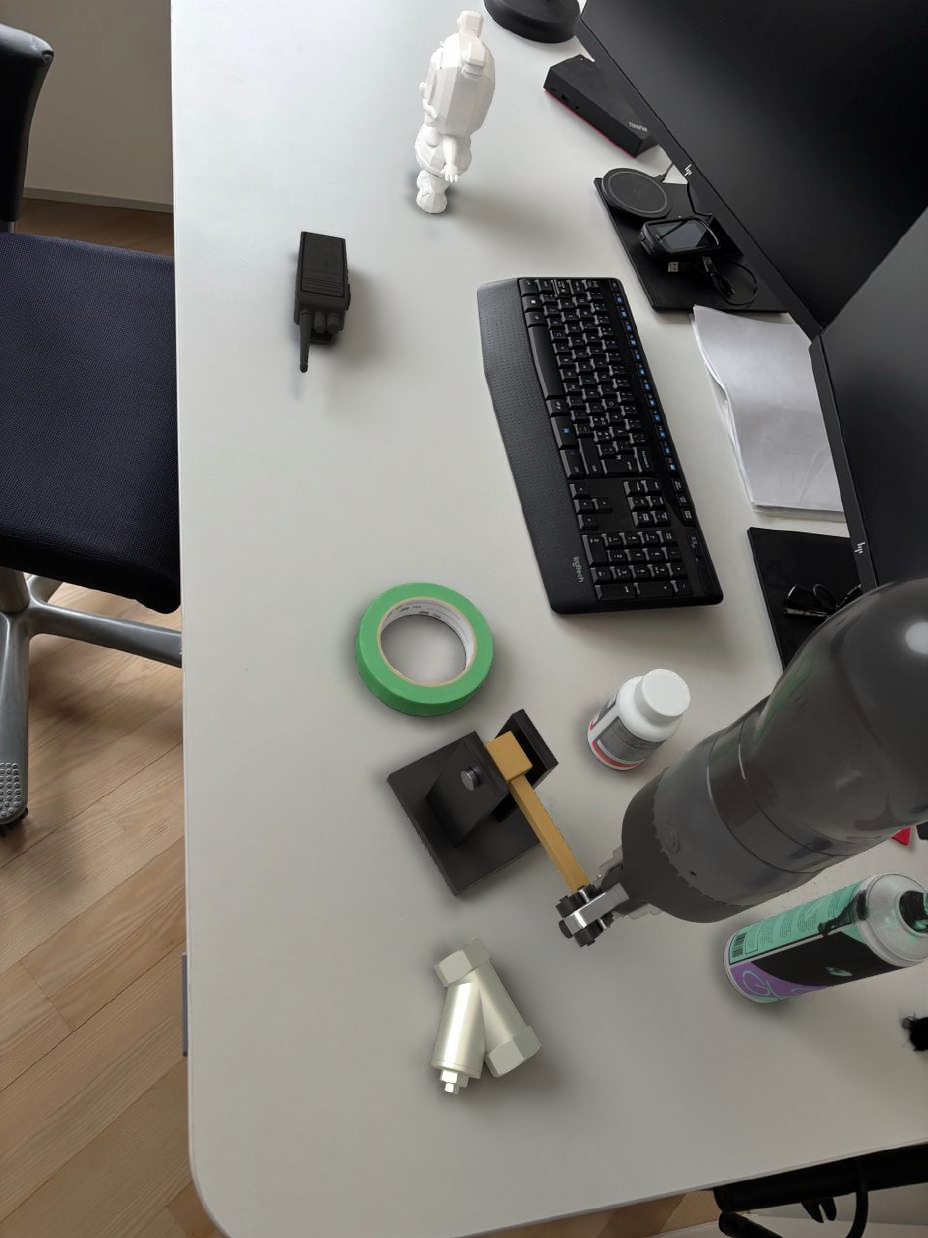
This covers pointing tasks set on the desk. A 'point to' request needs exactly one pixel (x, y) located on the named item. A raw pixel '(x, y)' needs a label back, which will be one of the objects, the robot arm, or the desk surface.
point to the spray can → (832, 940)
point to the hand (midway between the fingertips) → (596, 904)
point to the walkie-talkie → (320, 290)
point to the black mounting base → (471, 804)
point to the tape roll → (409, 692)
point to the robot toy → (453, 109)
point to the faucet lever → (535, 811)
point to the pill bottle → (639, 718)
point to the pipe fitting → (477, 1021)
